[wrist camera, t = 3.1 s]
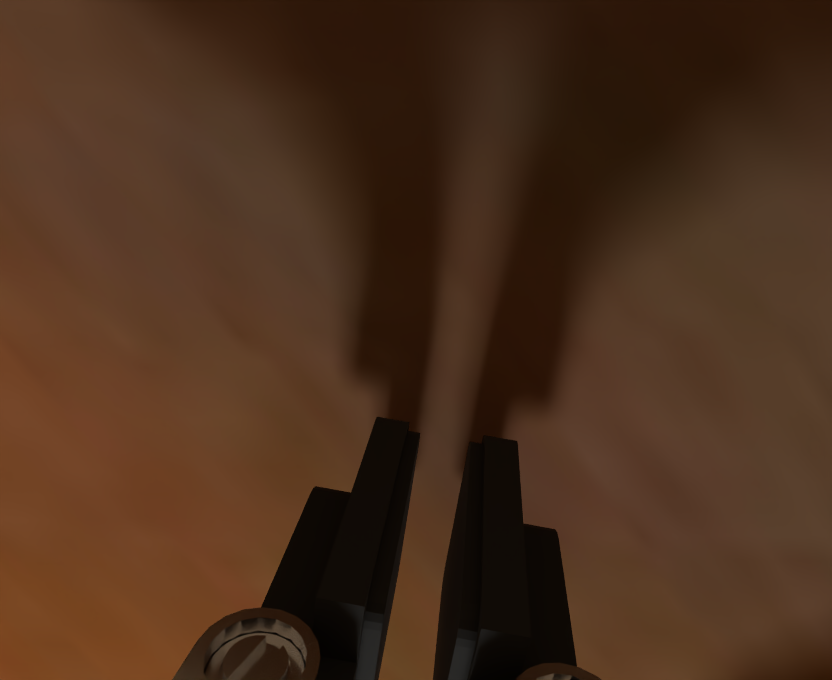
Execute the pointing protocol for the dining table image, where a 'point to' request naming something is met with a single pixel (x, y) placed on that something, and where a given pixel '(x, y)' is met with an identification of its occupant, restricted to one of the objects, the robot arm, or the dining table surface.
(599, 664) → the dining table surface
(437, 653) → the robot arm
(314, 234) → the dining table surface
